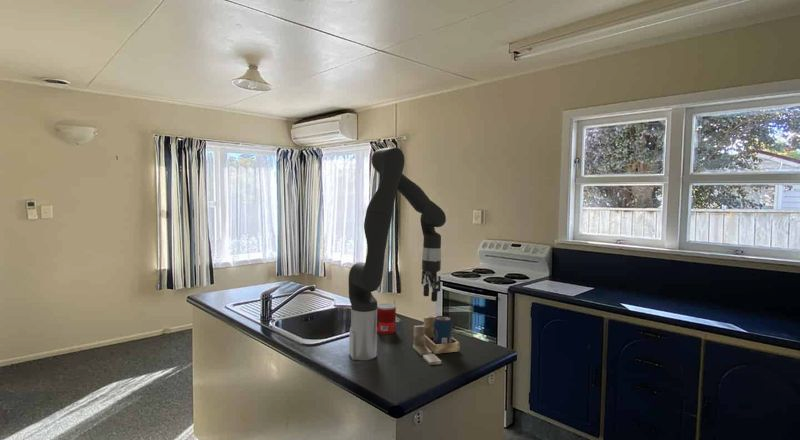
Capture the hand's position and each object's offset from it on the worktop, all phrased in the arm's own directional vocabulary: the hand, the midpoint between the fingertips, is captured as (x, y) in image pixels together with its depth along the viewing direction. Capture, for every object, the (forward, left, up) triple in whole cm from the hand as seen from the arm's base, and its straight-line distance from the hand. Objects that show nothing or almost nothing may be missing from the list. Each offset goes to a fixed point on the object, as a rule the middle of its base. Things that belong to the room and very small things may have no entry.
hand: (430, 298), depth 168 cm
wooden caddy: (0, -9, -16) cm, 18 cm away
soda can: (0, -13, -16) cm, 21 cm away
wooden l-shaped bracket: (-8, -17, -16) cm, 24 cm away
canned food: (-15, +12, -16) cm, 25 cm away
